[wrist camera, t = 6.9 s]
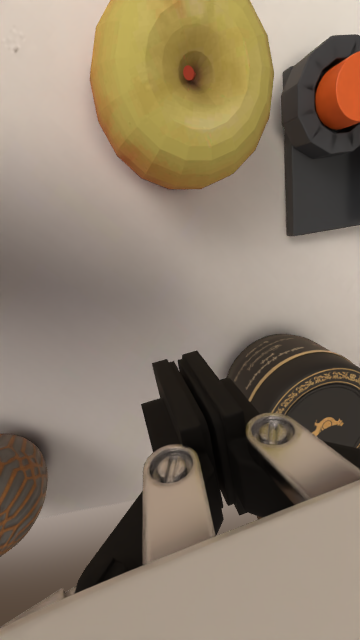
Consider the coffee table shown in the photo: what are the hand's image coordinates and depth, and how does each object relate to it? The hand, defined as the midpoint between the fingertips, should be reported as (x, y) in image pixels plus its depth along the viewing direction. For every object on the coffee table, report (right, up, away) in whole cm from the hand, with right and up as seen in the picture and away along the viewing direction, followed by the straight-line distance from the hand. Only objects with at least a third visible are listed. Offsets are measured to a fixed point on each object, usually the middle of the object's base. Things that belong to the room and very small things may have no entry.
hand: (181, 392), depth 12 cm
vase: (-14, -8, +14) cm, 22 cm away
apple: (-1, +16, +10) cm, 19 cm away
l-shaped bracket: (+14, +16, +13) cm, 25 cm away
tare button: (+10, +17, +9) cm, 22 cm away
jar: (+8, -3, +18) cm, 20 cm away
